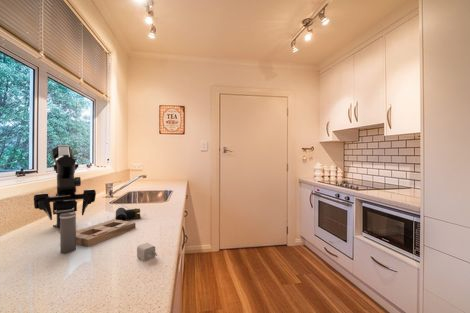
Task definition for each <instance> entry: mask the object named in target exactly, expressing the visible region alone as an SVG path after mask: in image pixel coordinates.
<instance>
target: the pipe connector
mask: <svg viewBox="0 0 470 313" xmlns="http://www.w3.org/2000/svg"><path fill="white" fill-rule="evenodd" d="M115 219H116V220H122V221H129V220H134V219H135V220H136V219H141V209H140V208H137V207H136V208H135V207H134V208H131V209H126V208H124V207H119V208H117V209H116V211H115Z"/></svg>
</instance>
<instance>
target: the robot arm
mask: <svg viewBox="0 0 470 313" xmlns="http://www.w3.org/2000/svg"><path fill="white" fill-rule="evenodd" d="M51 154H52V156H51V157H52V158H51V159H53V172H54V171H55V173H56V193H55V195H51V196H49V192H46V193H45V192H44V193H36V194H34V195H33V206H34V209H37V210H38V209H39V211H40V210H41V211H43V212H44V213H45V214H46V215H47V216H48V218H49V220H50V221H52V220H53V215H56V223H55V224H53V225H52V227H54V228H59V229H60V214H63V213H68V212H75V213H76V212H77V211H78V201H77V200H79V201H80V200H82V206H81V216H84V214H85V212H86V209H87V208H88V206H89V205H90V204H92V203H95V202H96V195H97V193H96V189H94V188H92V189H91V188H90V189H83V193H78V194H76V192H77V187H81V184H82V179H81V176H75V173H76V171H77V169H78V168H79V164H78V163H77V162H76V159H75V158H74V149H73V148H71V146H70V145H68V144H58V145H56V147H54V148H52V152H51ZM51 203H52V207H51ZM51 208H52V209H51ZM52 213H53V214H52Z"/></svg>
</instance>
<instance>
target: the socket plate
mask: <svg viewBox="0 0 470 313" xmlns="http://www.w3.org/2000/svg"><path fill="white" fill-rule="evenodd" d="M134 229H136V221H135V222H134V221H129V220H127V221H122V220H116V218H112V219H109V220H107V221H103V222H100V223H97V224H94V225H90V226H87V227H84V228H81V229H76V245H80V246H85V247H91V246H94V245H95V244H98V243H101V242H103V241H106V240H108V239H111V238H113V237H116V236H119V235H121V234H124V233H126V232H129V231H131V230H134Z"/></svg>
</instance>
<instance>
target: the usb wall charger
mask: <svg viewBox="0 0 470 313" xmlns="http://www.w3.org/2000/svg"><path fill="white" fill-rule="evenodd" d="M156 256H158V253H157V252H156V246H155V245H153V244H150V243H149V242H145V243H142V244H139V245H138V246H137V247H136V257H137V258H138V259H140V260H141V261H143V262H145V263H146V262H148V261H150V260H152V259H155V258H156Z"/></svg>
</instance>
